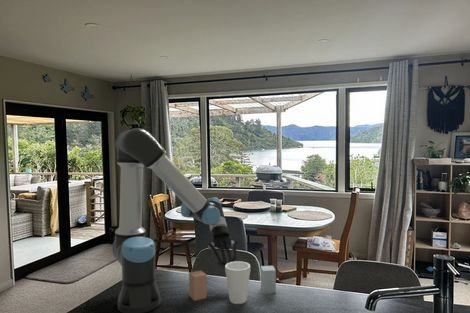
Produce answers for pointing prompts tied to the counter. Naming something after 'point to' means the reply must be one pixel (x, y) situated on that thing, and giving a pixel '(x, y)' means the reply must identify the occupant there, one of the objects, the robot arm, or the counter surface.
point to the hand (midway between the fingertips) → (231, 281)
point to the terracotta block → (197, 285)
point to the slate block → (268, 279)
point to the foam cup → (237, 281)
